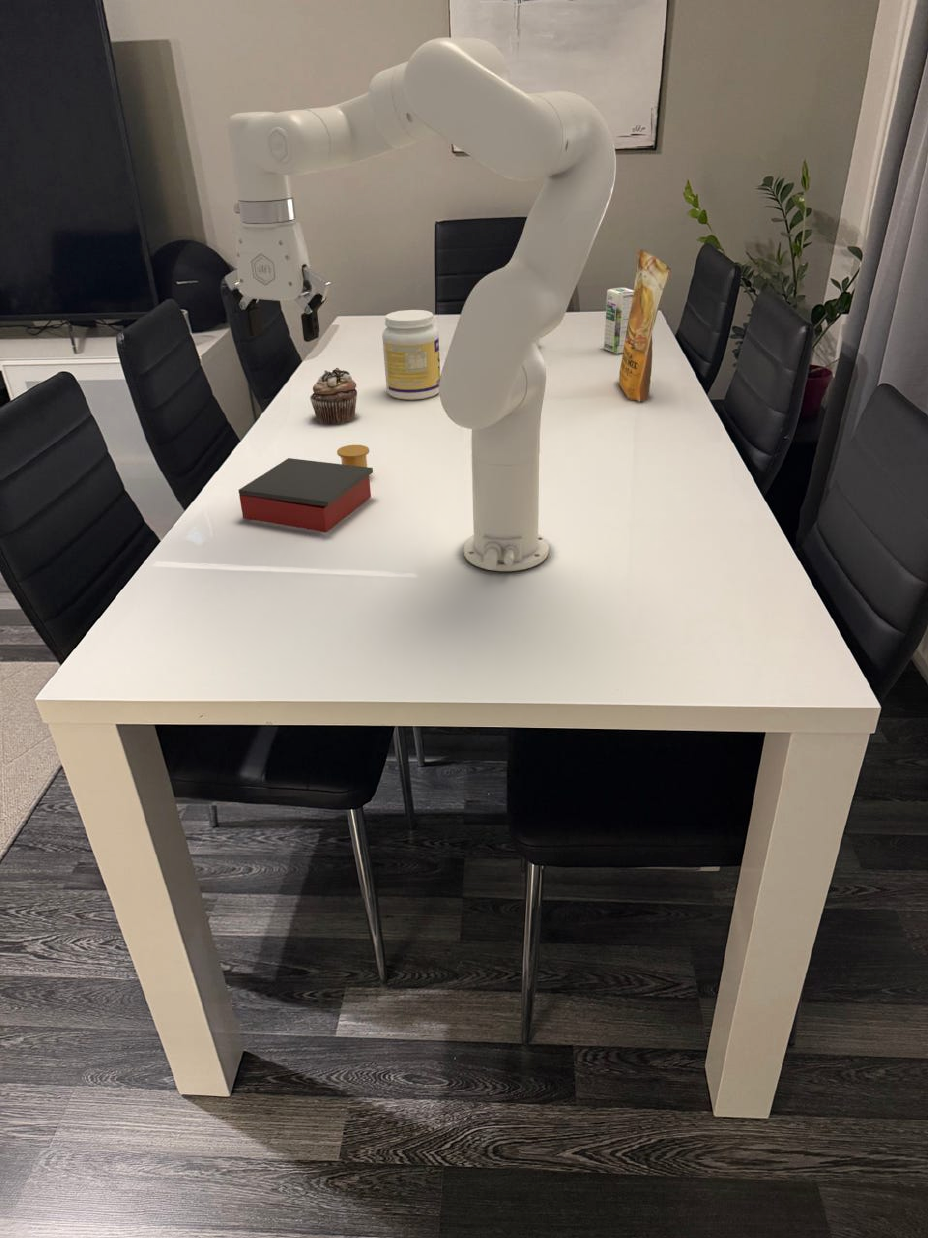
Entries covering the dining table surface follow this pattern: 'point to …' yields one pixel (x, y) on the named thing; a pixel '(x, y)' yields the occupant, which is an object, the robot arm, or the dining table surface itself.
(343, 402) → the cupcake
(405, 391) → the supplement tub
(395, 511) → the dining table surface
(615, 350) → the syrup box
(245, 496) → the red open tray
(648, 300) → the pancake mix bag
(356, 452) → the brass drawer pull
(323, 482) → the lid
